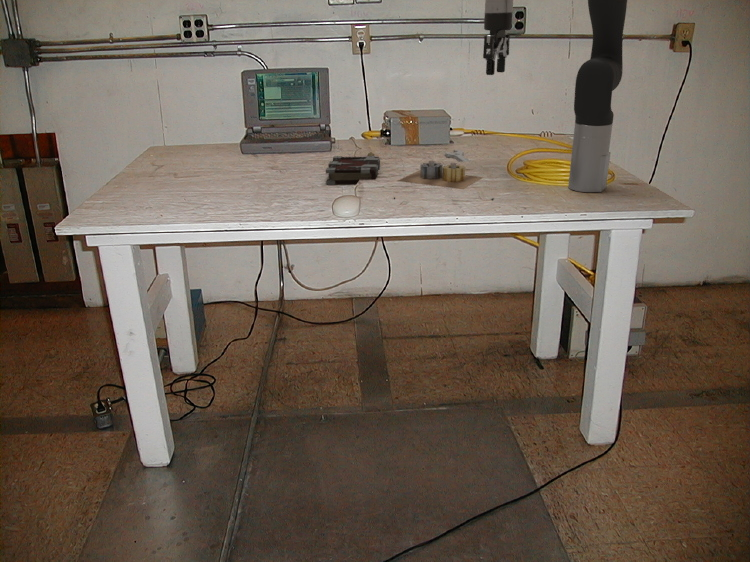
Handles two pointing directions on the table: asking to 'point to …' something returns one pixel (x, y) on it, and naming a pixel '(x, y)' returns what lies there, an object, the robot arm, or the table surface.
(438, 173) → the steel gear
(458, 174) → the brass gear
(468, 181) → the gear board
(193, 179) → the table surface
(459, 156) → the adjustable wrench
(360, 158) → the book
